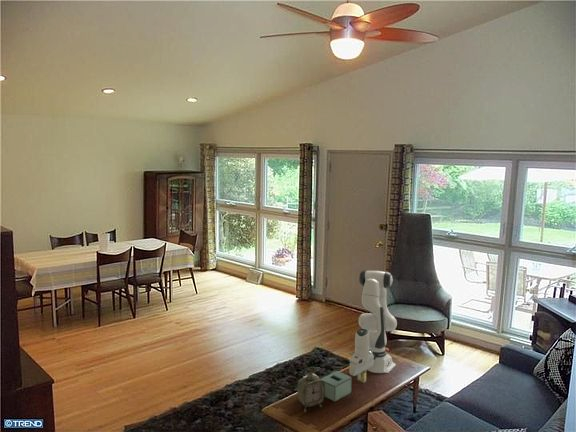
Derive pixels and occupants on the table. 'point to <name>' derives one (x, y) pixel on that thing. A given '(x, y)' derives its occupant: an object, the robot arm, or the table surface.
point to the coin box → (337, 385)
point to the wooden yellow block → (362, 377)
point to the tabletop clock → (311, 390)
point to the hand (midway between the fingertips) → (361, 376)
